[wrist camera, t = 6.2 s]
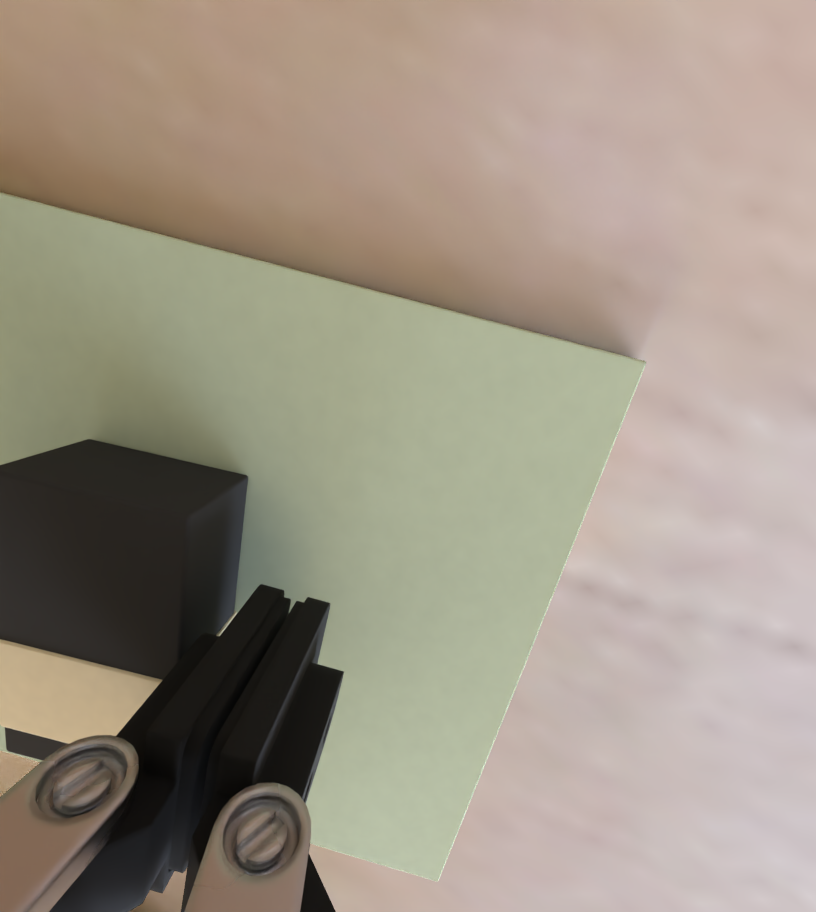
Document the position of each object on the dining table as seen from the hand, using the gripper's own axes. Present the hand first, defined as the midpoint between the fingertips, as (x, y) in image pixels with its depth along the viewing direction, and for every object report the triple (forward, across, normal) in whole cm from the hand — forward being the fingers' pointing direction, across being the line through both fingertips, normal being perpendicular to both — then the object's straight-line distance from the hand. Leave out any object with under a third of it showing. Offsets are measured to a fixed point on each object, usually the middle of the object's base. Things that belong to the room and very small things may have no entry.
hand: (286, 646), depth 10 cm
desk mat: (+2, +8, 0) cm, 8 cm away
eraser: (+1, +4, 0) cm, 4 cm away
